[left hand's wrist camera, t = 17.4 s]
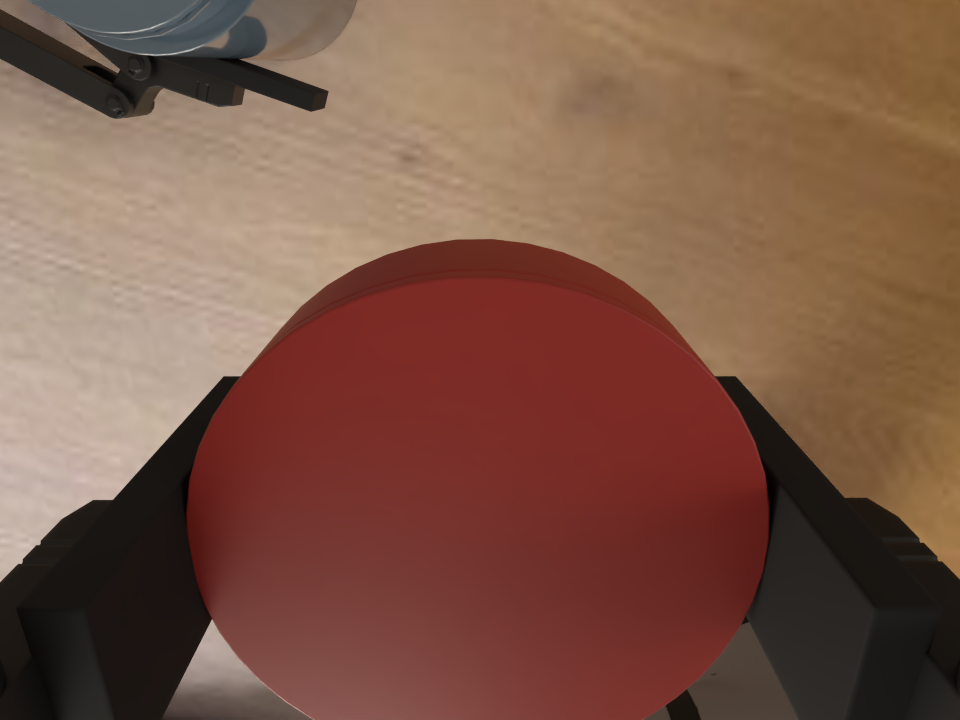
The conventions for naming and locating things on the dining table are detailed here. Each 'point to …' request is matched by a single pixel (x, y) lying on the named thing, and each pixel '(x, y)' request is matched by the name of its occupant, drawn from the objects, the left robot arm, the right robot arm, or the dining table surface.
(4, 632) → the left robot arm
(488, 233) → the dining table surface
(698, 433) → the lid
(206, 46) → the jar
